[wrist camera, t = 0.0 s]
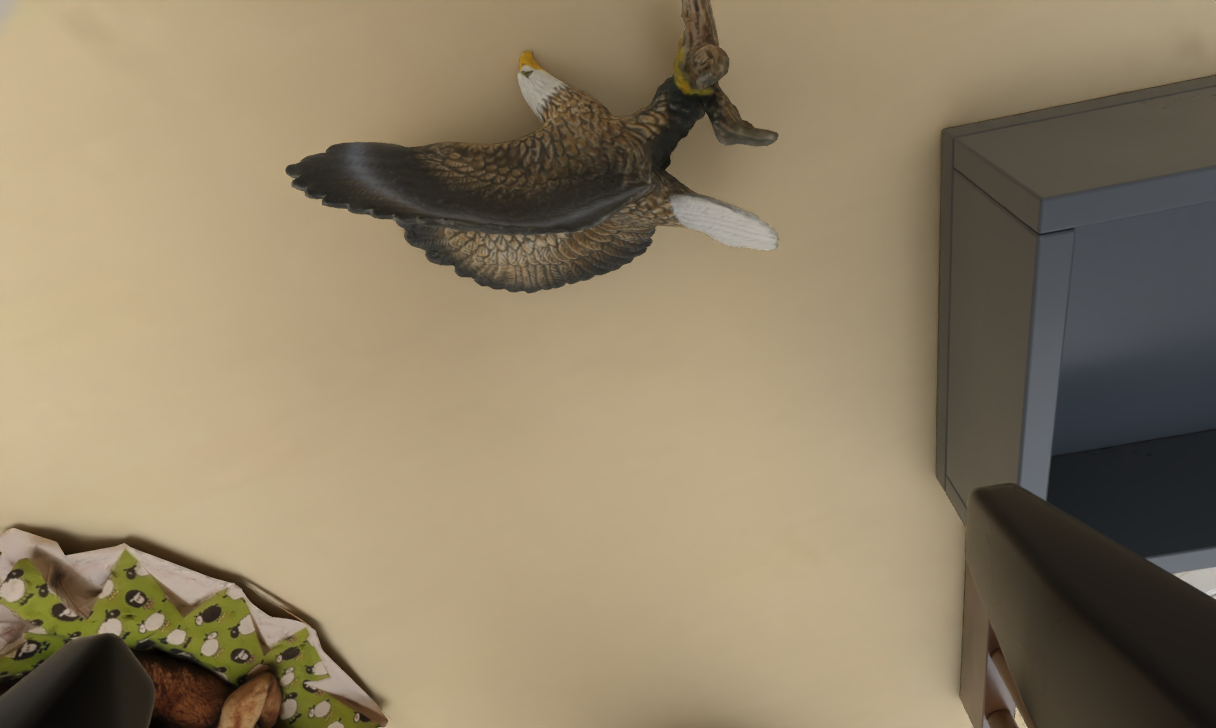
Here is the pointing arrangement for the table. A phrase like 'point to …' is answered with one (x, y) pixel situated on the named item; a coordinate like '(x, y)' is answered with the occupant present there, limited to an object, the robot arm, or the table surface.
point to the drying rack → (986, 670)
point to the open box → (1086, 315)
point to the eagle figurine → (554, 178)
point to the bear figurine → (173, 638)
